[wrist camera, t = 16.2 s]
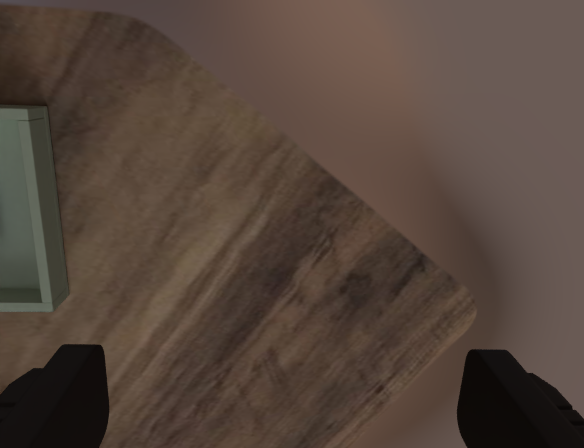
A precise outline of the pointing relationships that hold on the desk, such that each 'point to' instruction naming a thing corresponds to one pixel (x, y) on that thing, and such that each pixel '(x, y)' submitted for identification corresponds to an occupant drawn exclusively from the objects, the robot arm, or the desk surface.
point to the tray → (29, 214)
